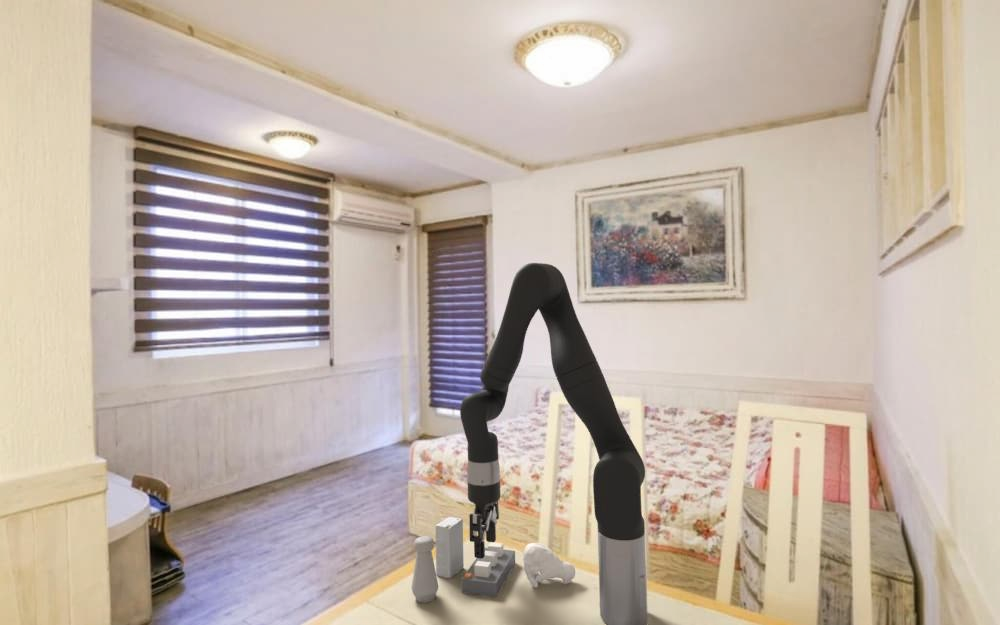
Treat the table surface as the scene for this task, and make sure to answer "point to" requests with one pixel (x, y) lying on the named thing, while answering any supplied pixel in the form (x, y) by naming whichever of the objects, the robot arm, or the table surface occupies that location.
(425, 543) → the salt shaker
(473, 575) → the panel
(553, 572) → the whiskered white figurine
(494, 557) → the block
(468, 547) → the table surface
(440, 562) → the skincare box
